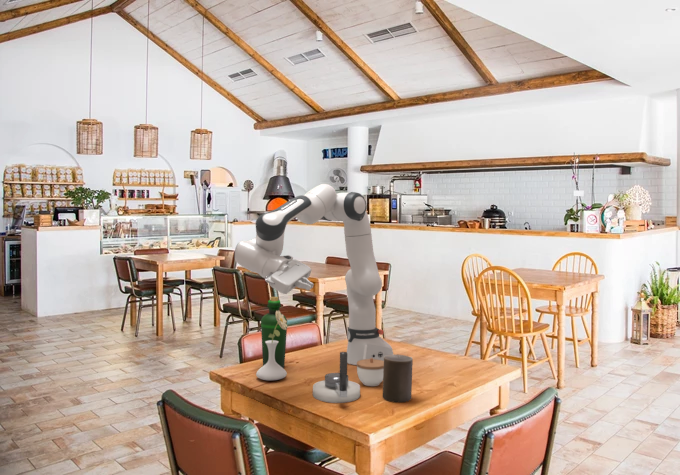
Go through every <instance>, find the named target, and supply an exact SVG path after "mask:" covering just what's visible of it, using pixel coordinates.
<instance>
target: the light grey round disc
mask: <svg viewBox="0 0 680 475" xmlns="http://www.w3.org/2000/svg"><path fill="white" fill-rule="evenodd" d="M312 397H313V398H314V399H316V400H317V401H321V402H325V403H332V404H341V403H343V404H345V403H350V402H353V401H357V400H358V399H360V397H361V385H360V384H359V383H357V382H355V381H351V380H348V386H347V397H339V395H338V393H337V391H336V389H335V388H329V387H326V386H325V379H324V380H320V381H317V382H315V383H313V385H312Z"/></svg>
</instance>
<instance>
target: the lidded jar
mask: <svg viewBox="0 0 680 475" xmlns="http://www.w3.org/2000/svg"><path fill="white" fill-rule="evenodd" d="M383 371H384V361H382V360H377V359H373V358H370V359H364V360H359V361H358V362H357V365H356V372H357V374H356V375H357V376H358V379H359V381H360V382H361V383H362V384H363V385H364V386H366V387H377V386H379V385H380V384H381V383H383Z"/></svg>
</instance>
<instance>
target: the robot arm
mask: <svg viewBox="0 0 680 475" xmlns="http://www.w3.org/2000/svg"><path fill="white" fill-rule="evenodd" d="M295 218H296V219H297V220H298V221H300V222H301V223H303V224H306V225H313V224H315V223H317V222H319V221H320V220H324V221H327V222H332V221H334V222H343V231H344V232H343V233H344V242H345V243H344V244H345V252H346V257H347V259H348V262H349V267H350V268H349V269H348V270H347V272H346V274H345V277H344V280H345V285H346V295H347V302H348V327H347V331H346V332H347V334H346V336H347V337H346V338H347V346H346V352H347V364H349V365H354V366H357V362H358V361H359V360H364V359H370V358H373V359H377V360H382V361H384V356H387V355H392V354H394V351H393V347H392V345H391V344H390V343H388V342H387V341H386V340H384V338H382V337H381V336H383V335H384V330H383V329H381V328H380V329H379V328H377V327H376V311H377V309H376V305H375V303H374V302H375V301H374V296H376V295H377V294H379V293H380V291H381V290H382V287H383V282H382V278H381V277H380V274H379V268H378V264H377V260H376V257H375V253H374V246H373V238H372V237H373V235H372V228H371V223H370V219H369V218H370V217H369V216H368V212H367V201H366V200H365V197H364V196H363V194H362V193H359V192H355V191H351V192H347V191H346V192H338V193H337V191H336V189H335V188H334V187H333V186H332V185H330V184H328V183H321V184H319V185H316V186H314V187H312V188H311V189H309V191H306V192H305V194H302V195H297V196H295V197H293V198H291V199H290V200H288V201H287V202H284V203H283V204H281V205H280V206H278V207H277V208H275V209H272V210H270V211H267V212H264V213H262V214H260V215H259V216H257V219H256V221H255V232H256V234H255V236H256V237H254V238H252V239H249V240H239V241H238V242H237V245H236V246H235V250H234V257H233V258H234V261H235V262H236V264H238V265H239V266H240V267H243V268H244V269H246V270H248V271H249V272H251V273H256V274H258V275H259V276H260V277H262V278H263V279H264V280H265V282H266V283H267V284H268V286H270V287H271V288H272V289H274V290H276V291H277V292H278V293H281V294H283V295H287V294H289V293H290V292H291V291H293V289H295V288H299V289H303V290H306V291H310V290H312V289H313V288H314V283H313V282H312V281H310V280H309V277H310V275H311V272H312V268H311V267H310V266H309V265H308V264H305V263H303V262H301V261H300V260H297V259H294V257H293V256H292V255H289V254H287V255H282V253H283V250H284V240H285V230H286V228H287V225H288V223H289V222H291V221H292V220H294V219H295ZM380 335H381V336H380Z"/></svg>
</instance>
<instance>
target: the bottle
mask: <svg viewBox="0 0 680 475" xmlns="http://www.w3.org/2000/svg"><path fill="white" fill-rule="evenodd" d="M281 304H282V303H281V300H280V299H279V296H270V299H269V300H268V301H267V305H266V306H267V307H268V313H266V314H264V315H263V316H262V317H261V319H260V330H261V349H262V350H261V351H262V352H261V353H262V356H261V357H262V367H263V366H264V365H265V364H266V363H267V362H268V359H269V351H268V347H267V344H266V343H265V341H269V340H272V338H270V337H268V336H269V334H270V333H271V334H272V335H273V333H274V329H275V327H276V324H277V322H278V321H277V319H276V315H275V314H276V311H280V309H281V307H282V305H281ZM282 314H283V313H281V315H282ZM284 318H285V320H286V321H287V323H286V324H287V325H288V319H287V317H286V316H285V315H284ZM286 329H287V330H286ZM286 329H285V330H284V329H283V328H281V327H280V325H279V324H278V325H277V327H276V329H275V330H278V331H279V332H280V335H279V336H278V337H277V336H276V335H275V333H274V335H275V337H273V340H276V341H279V342H278V344H277V345H276V349H275V361H276V363H277V364H278V365H280V366H281V367H282V368H283V369H284V368H285V362H286V349H287V348H286V346H287V345H286V344H287V331H288V327H286Z"/></svg>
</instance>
